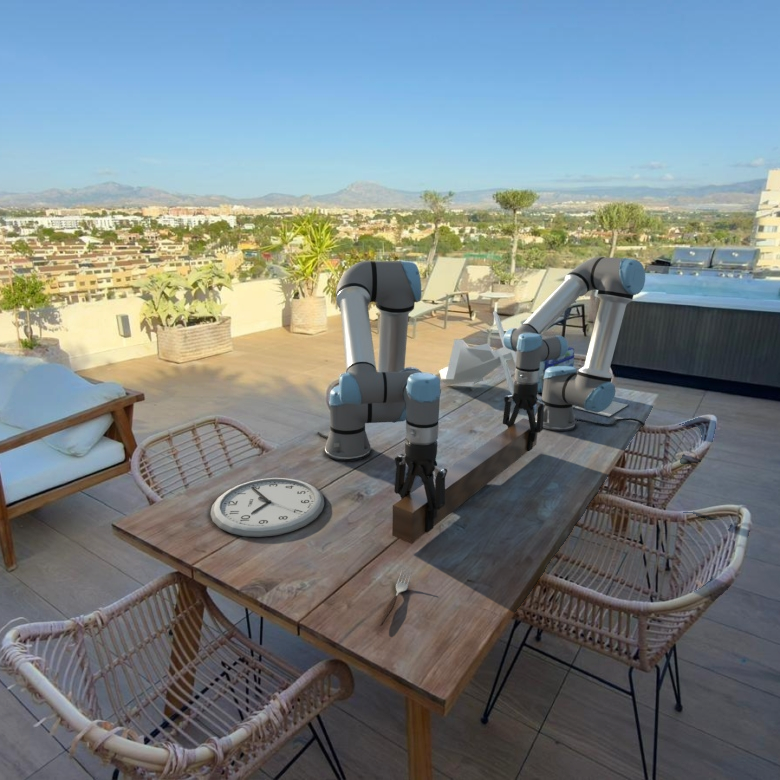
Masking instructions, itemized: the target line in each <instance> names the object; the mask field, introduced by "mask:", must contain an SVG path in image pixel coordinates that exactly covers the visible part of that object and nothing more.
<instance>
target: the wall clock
mask: <svg viewBox="0 0 780 780" xmlns="http://www.w3.org/2000/svg"><path fill="white" fill-rule="evenodd" d="M324 506H325V498H324V495H323V494H322V492H321V491H320V490H319V489H318V488H316V487H315V486H313V484H310V483H308V482H305V481H302V480H299V479H293V478H286V477H285V478H284V477H283V478H282V477H270V478H261V479H255V480H251V481H247V482H243V483H241V484H238V485H236V486H233V487H231V488H230V489H228V490H225V492H224V493H222V494H221V495H220V496H218V497H217V499H216V500H215V501H214V503H213V504H212V505H211V509H210V517H211V520H212V523H214V524H215V525H216V526H217V527H218V528H219V529H221V530H223V531H225V532H227V533H229V534H231V535H236V536H242V537H253V538H254V537H256V538H263V537H272V536H279V535H283V534H288V533H291V532H294V531H296V530H299V529H301V528H303V527H306V526H307V525H309V524H310V523H312V522H313V521H315V520H316V519H317V518H318V517H319V516H320V514H321V513H322V512H323V510H324Z"/></svg>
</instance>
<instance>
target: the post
mask: <svg viewBox="0 0 780 780" xmlns="http://www.w3.org/2000/svg"><path fill="white" fill-rule="evenodd" d="M536 425H537V422H536ZM530 431H531V429H530V424H529V419H528V418H524V417H523V418H521V419H520V420H518V421H517V422H515V423H514V425H512V426H511V427H509V428H508V427H507V428H506V429H505V430H503V431H502V432H500V433H499V434H497V435H496V436H494V437H493V438H491V439H490V440H488V441H487V442H485V443H484V444H482V445H481V446H479V447H478V448H475V450H473V451H472V452H470V453H468V454H467V455H465V456H464V457H462V458H461V459H460V460H458V461H456V462H455V463H454V464H452V465H451V466H448V468H446V469H447V474H446V477H445V505H444V506H443V507H442V508H440V509H439V510H437V517H436V519H435V520H434V525H433V528H434V527H435V526H436V525H437V524H439V523H441V521H443V520H444V519H445V518H446V517H448V516H449V515H450V514H452V512H453V511H455V510H457V508H459V507H460V506H461V505H463V504H464V503H465V502H466V501H468V500H469V499H470V498H471V497H473V496H474V495H475V494H476V493H477V492H479V491H480V490H482V488H484V487H485V486H487V485H488V484H489V483H490V482H491V481H493V480H494V479H495V478H497V477H498V476H499V475H500V474H502V473H503V472H504V471H506V469H508V468H509V467H511V466H512V465H513V464H514V463H515V462H516V461H518V460H519V459H520V458H522V457H523V456H524V455H525V454H527V453H528V452H529V451H527V446H528V435H529V432H530ZM537 441H538V432H537V434H536V440H535V441H534V442H533V448H534V447H536V446H537V443H538V442H537ZM435 480H436V477H435V476H434V478H433V481H434V486H435ZM427 507H428V501H427V497H426V492H425V488H424V484H422V485H420V486H418V488H416V489H414V490H413V491H411V493H410V494H409V495H407V496H406V497H404V498H403V499H401V498H400V500H398V501H397V502H395V503H393V504H392V528H391V529H392V531H391V533H392V534H391V535H392V537H395V538H397V539H399V540H401V541H404V542H406V543H408V544H411V545H413V544H414V543H415V542H417V540H419V539H420V538H421V537H422V536H424V535H425V534H427V533H426V532H425V516H426V508H427Z"/></svg>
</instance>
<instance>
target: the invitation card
mask: <svg viewBox="0 0 780 780" xmlns="http://www.w3.org/2000/svg"><path fill="white" fill-rule="evenodd" d="M628 406H629V404H627V403H623V402H618V401H614V400H613V401H612V402H611V404H610V405H609V406H608V407H607V408H606V409H605V410H603V411H601V412H593V411H587V410H585V409H584V408H581V407H578V406H574V407H573V409H575V410H581V411H584V412H587V413H593V414H596V415H600V416H604V417H608V418H609V417H611V416H613V415H614V414H616V413H617V412H619V411H621V410H623V409H624V408H626V407H628Z"/></svg>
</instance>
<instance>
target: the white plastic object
mask: <svg viewBox="0 0 780 780" xmlns="http://www.w3.org/2000/svg"><path fill="white" fill-rule="evenodd" d="M492 315H493V319H494V321H495V324H496V325H495V326H496V328H497V332H498V335H499V338H500V342H501V345H502V347H500V348H498V349H496V350H495V349H493V348H492V347H491V346H490V344H489V343H488V342H487V343H483V344H479V345H473V346H469V345H468V343H466V342H465V340H464V339H463V338H460V339H458V338H454V340H453V344H452V349H451V353H450V357H449V362H448V366H446V367H444V368H442V369H440V370H439V371H438V372H439V376H440V381H442V383H443V384H444V385H445V386H449V385H458V384H467V383H468V384H469V383H473V384H477V383H480V382H482V381H484V378H485V377H486V376H487V375H489V374H490V373H492V372H494V371H495V370H496V369H497V368H499V367H500V366H502V370H503V373H504V376H505V380H506V383H507V386H508V390H509V393H510V394H511V395H513V393H514V381H513V378H512V375H511V371H510V369H509V365H508V361H510V360H513V363H514V366H515V367H516V354H517V352H516V351H513V350H510V349H508V348H506V347H505V345H504V342H503V338H504V335H505V331H504V328H503V325H502V321H501V318H500V315H499V314H498V312H497V311H496V310H495V311H492Z"/></svg>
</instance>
